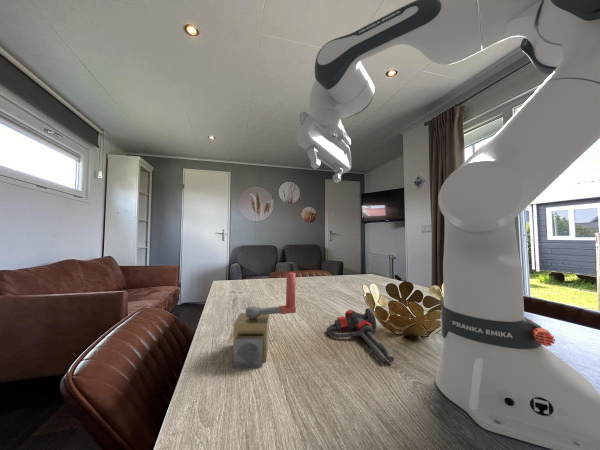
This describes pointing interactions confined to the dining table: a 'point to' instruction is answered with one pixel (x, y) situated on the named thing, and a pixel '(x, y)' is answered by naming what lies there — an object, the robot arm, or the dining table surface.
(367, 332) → the valve
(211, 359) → the dining table surface
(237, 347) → the lever valve base
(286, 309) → the lever
